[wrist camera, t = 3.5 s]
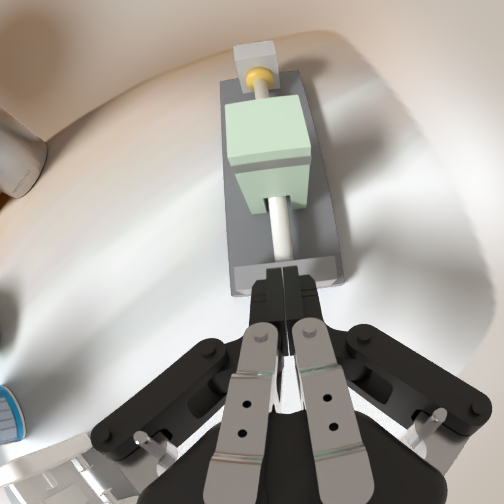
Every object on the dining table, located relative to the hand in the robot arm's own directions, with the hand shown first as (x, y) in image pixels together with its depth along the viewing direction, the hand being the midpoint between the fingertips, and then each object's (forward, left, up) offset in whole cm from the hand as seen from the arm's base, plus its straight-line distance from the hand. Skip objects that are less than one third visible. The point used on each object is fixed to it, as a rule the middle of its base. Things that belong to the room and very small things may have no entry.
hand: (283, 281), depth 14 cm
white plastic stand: (+6, -29, -8) cm, 31 cm away
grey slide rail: (-10, +6, -7) cm, 13 cm away
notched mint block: (-6, +4, -6) cm, 9 cm away
